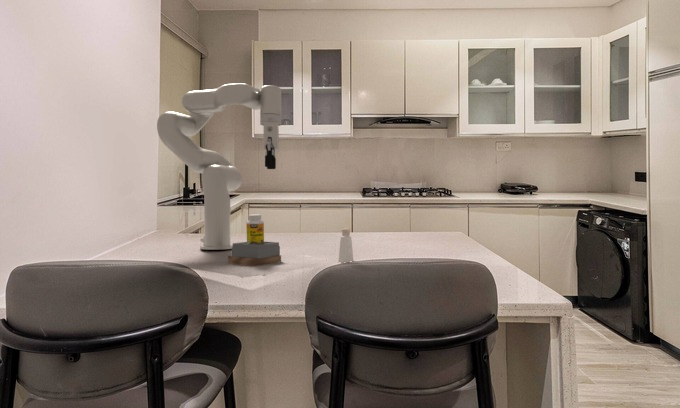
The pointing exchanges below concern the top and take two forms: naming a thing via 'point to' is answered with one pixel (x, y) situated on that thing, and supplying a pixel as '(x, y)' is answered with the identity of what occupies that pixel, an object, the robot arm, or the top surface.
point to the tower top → (255, 250)
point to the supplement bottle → (255, 229)
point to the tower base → (254, 260)
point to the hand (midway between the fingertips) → (270, 168)
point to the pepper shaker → (345, 247)
